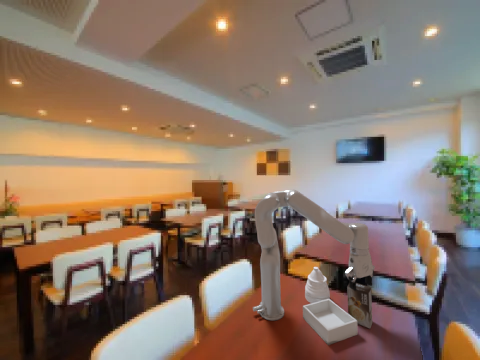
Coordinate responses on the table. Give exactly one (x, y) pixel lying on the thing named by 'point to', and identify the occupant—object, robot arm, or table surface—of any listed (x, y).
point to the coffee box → (360, 304)
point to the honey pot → (316, 287)
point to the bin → (330, 321)
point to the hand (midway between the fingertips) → (360, 286)
